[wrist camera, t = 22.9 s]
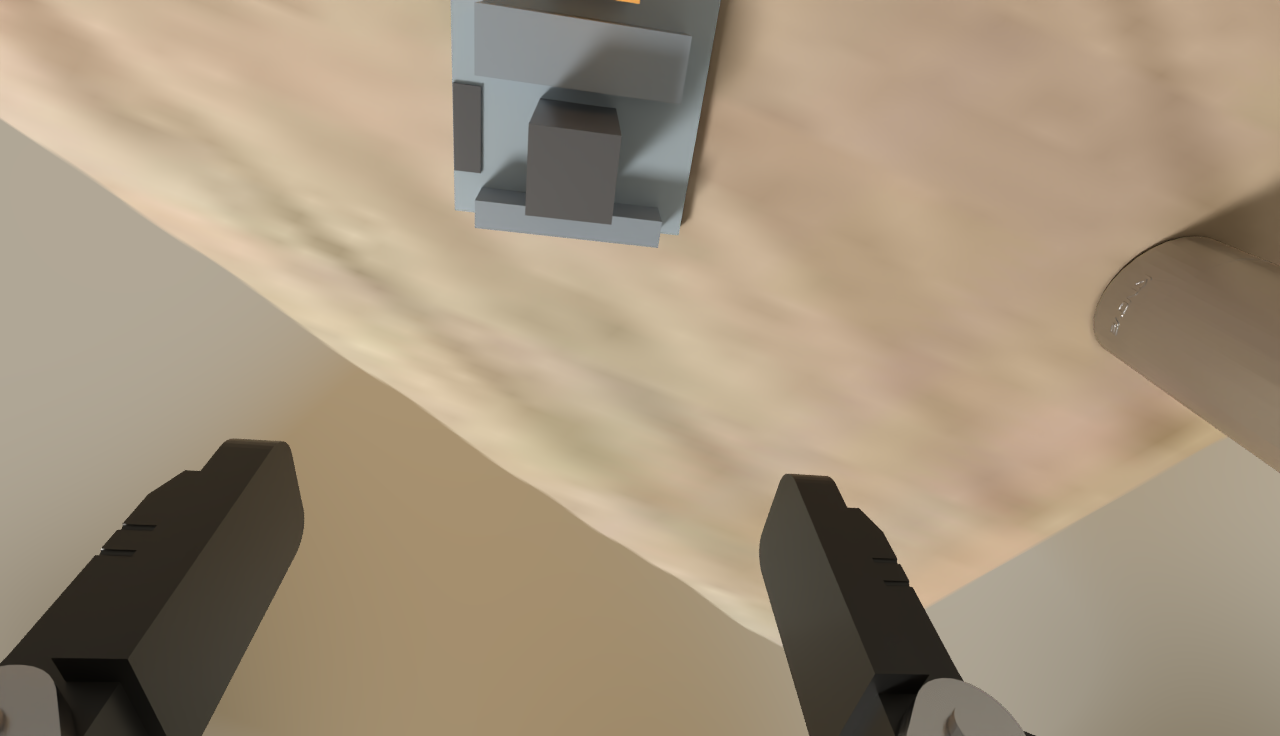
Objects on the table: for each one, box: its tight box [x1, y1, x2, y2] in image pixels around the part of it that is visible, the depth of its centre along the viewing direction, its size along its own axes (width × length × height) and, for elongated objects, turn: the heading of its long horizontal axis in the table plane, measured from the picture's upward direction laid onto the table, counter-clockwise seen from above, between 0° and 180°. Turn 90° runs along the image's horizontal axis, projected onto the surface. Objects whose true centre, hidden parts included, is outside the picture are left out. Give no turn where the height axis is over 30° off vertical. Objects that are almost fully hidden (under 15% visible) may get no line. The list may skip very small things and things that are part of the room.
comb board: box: [451, 0, 721, 248], centre depth 30 cm, size 13×18×4 cm
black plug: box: [525, 98, 622, 225], centre depth 30 cm, size 4×4×7 cm
